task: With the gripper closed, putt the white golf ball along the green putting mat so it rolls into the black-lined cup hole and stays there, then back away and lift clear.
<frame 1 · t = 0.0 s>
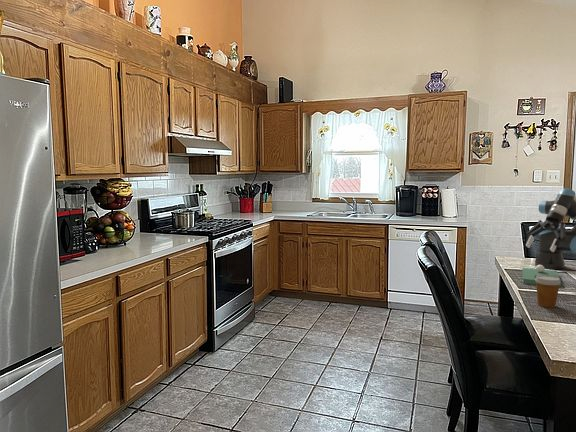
hand: (539, 248, 229), 15 cm above the table, tool tilted 35°, fingers open, 13 cm apart
disposable coffee cup: (546, 305, 185), on the table
putting mat: (540, 279, 226), on the table
golf ball: (540, 268, 231), point 4 cm above the table, touching putting mat
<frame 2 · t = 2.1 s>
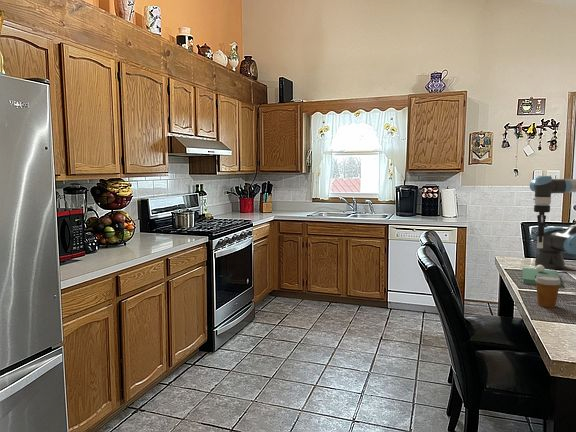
hand: (539, 247, 237), 14 cm above the table, tool pointing down, fingers closed
nothing on the table moved.
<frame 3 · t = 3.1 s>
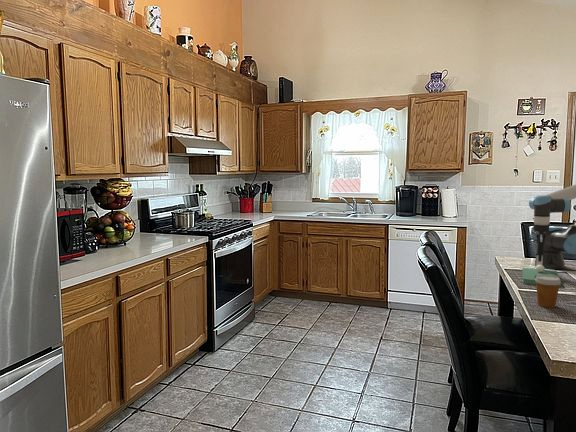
hand: (539, 266, 238), 4 cm above the table, tool pointing down, fingers closed
nothing on the table moved.
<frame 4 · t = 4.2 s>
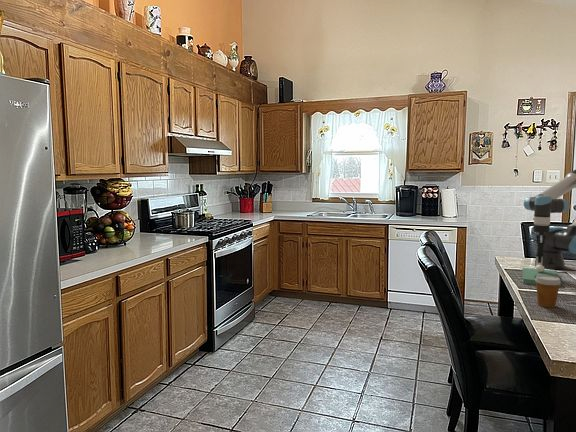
hand: (538, 268, 234), 4 cm above the table, tool pointing down, fingers closed
golf ball: (540, 268, 231), point 4 cm above the table, touching gripper, putting mat
everything else where it was.
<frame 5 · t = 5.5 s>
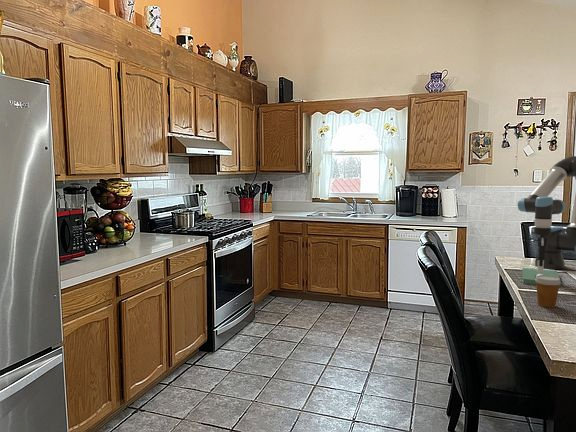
hand: (540, 272, 226), 4 cm above the table, tool pointing down, fingers closed
golf ball: (540, 277, 220), point 2 cm above the table, tilted 22°, touching putting mat
everything else where it was.
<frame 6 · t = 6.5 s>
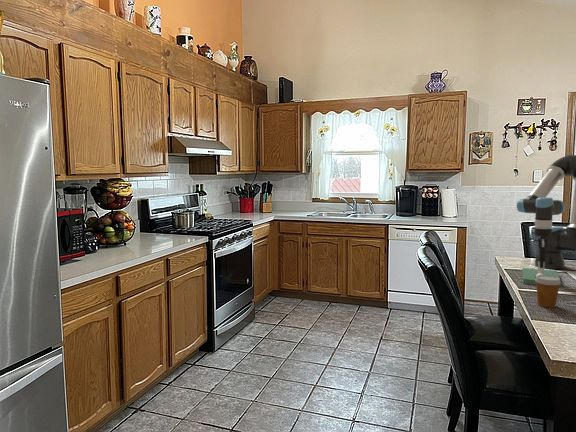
hand: (540, 273, 224), 4 cm above the table, tool pointing down, fingers closed
golf ball: (540, 277, 222), point 2 cm above the table, tilted 18°, touching putting mat
everything else where it was.
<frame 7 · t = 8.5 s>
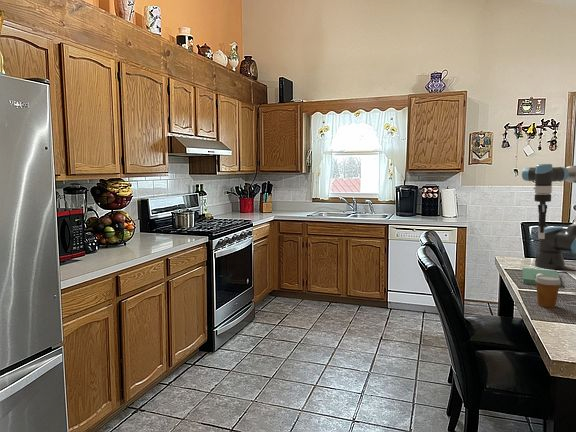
hand: (541, 238, 229), 21 cm above the table, tool pointing down, fingers closed
nothing on the table moved.
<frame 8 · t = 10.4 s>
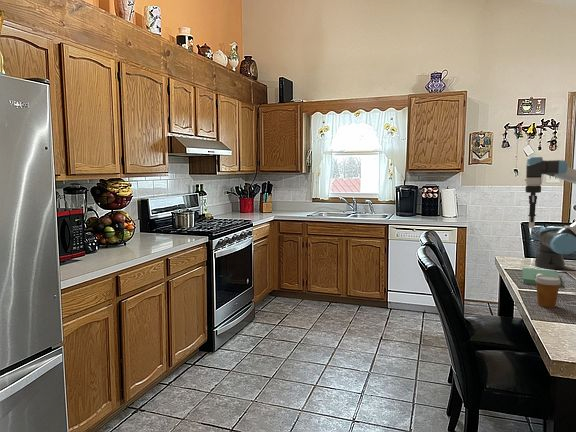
hand: (531, 227, 242), 24 cm above the table, tool pointing down, fingers closed
nothing on the table moved.
at the end: golf ball 0.6 cm from the target spot on the putting mat, point 2.3 cm above the putting mat's base; golf ball moved 11.8 cm from its start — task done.
